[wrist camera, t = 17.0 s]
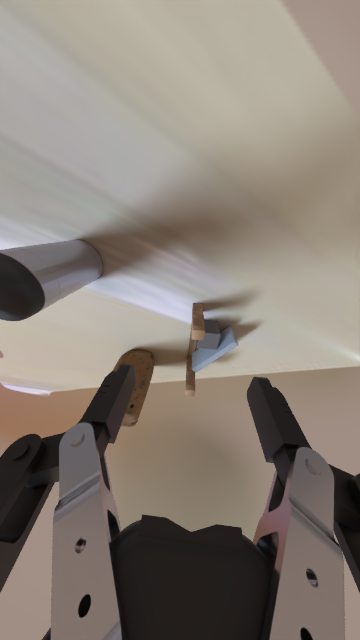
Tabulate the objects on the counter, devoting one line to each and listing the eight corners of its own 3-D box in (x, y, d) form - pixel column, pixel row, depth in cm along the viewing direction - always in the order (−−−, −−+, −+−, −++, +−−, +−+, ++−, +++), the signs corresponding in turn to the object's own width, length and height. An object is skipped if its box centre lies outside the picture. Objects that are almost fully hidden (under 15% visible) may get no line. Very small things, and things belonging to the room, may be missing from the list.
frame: (186, 361, 52) (185, 395, 42) (193, 303, 41) (192, 329, 30) (194, 362, 52) (194, 396, 42) (202, 304, 41) (205, 330, 30)
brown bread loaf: (157, 352, 51) (138, 416, 34) (154, 367, 55) (136, 432, 38) (124, 345, 50) (88, 407, 33) (123, 361, 54) (92, 424, 37)
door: (192, 353, 49) (191, 369, 44) (229, 326, 43) (234, 341, 37) (198, 357, 50) (198, 374, 44) (235, 332, 44) (241, 347, 38)
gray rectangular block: (197, 334, 46) (197, 347, 41) (199, 319, 43) (200, 332, 38) (214, 335, 46) (217, 349, 41) (217, 321, 43) (220, 334, 38)
